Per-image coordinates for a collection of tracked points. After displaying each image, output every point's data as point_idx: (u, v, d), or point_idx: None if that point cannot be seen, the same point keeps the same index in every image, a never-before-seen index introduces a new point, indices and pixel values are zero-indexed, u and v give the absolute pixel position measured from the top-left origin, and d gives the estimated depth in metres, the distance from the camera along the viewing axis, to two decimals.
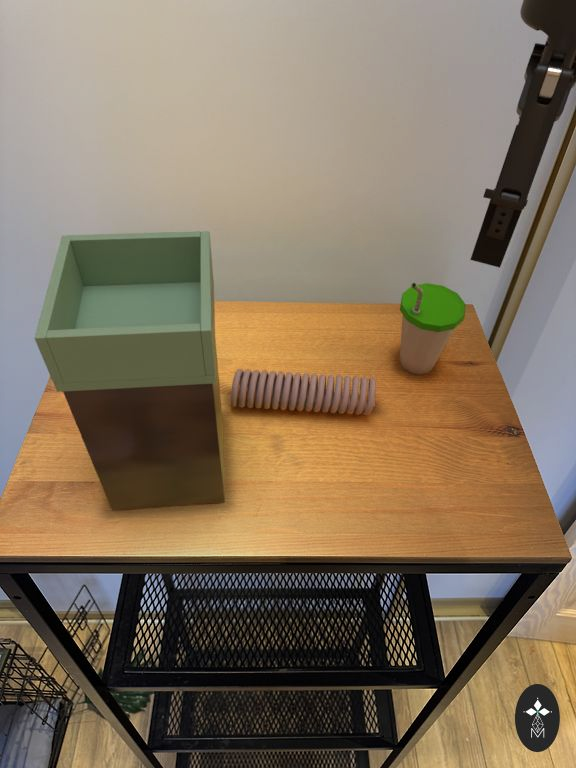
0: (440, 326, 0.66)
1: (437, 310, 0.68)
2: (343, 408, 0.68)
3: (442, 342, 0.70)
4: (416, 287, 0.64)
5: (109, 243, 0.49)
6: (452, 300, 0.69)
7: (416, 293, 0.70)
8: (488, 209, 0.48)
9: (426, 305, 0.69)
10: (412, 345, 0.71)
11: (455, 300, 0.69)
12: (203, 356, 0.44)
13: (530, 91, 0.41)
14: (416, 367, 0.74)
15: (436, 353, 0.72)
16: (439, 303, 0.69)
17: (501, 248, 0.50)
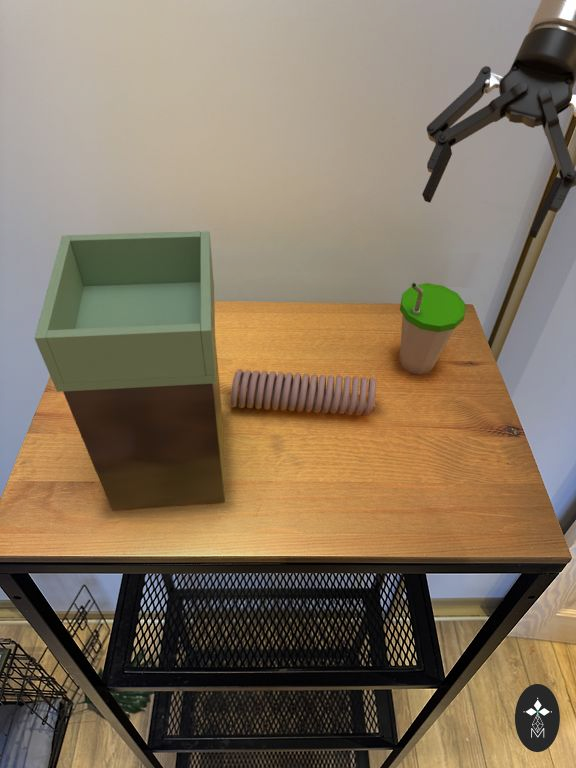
0: (440, 326, 0.66)
1: (437, 310, 0.68)
2: (343, 408, 0.68)
3: (442, 342, 0.70)
4: (416, 287, 0.64)
5: (109, 243, 0.49)
6: (452, 300, 0.69)
7: (416, 293, 0.70)
8: None
9: (426, 305, 0.69)
10: (412, 345, 0.71)
11: (455, 300, 0.69)
12: (203, 356, 0.44)
13: None
14: (416, 367, 0.74)
15: (436, 353, 0.72)
16: (439, 303, 0.69)
17: None
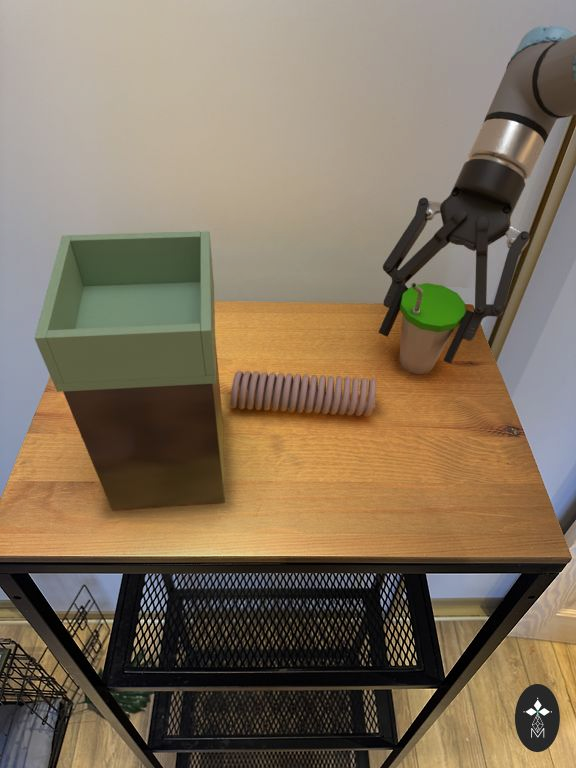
0: (440, 326, 0.66)
1: (437, 310, 0.68)
2: (343, 409, 0.68)
3: (442, 342, 0.70)
4: (416, 287, 0.64)
5: (109, 243, 0.49)
6: (452, 300, 0.69)
7: (416, 293, 0.70)
8: None
9: (426, 305, 0.69)
10: (412, 345, 0.71)
11: (455, 300, 0.69)
12: (203, 356, 0.44)
13: None
14: (416, 367, 0.74)
15: (436, 353, 0.72)
16: (439, 303, 0.69)
17: None
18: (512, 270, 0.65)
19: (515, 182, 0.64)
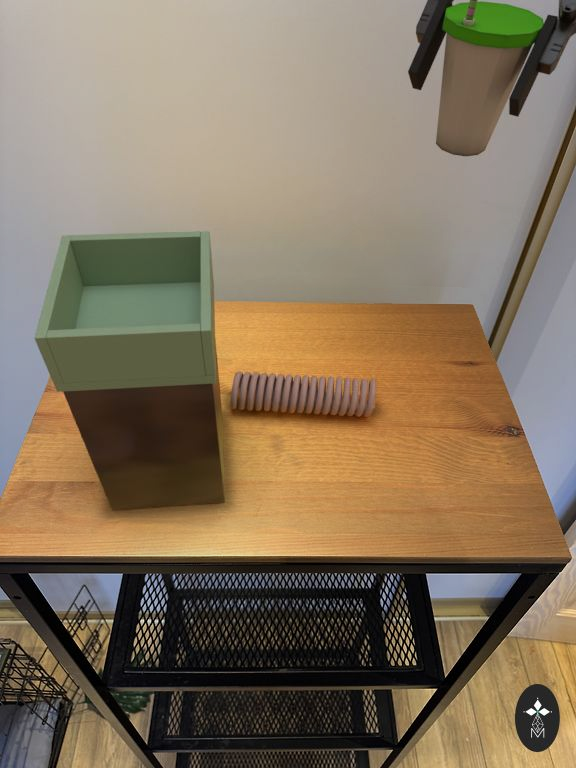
0: (508, 36, 0.43)
1: (500, 23, 0.44)
2: (343, 410, 0.68)
3: (506, 82, 0.46)
4: None
5: (109, 243, 0.49)
6: (522, 16, 0.46)
7: (466, 10, 0.46)
8: None
9: (482, 19, 0.45)
10: (459, 93, 0.47)
11: (526, 16, 0.46)
12: (203, 356, 0.44)
13: None
14: (462, 140, 0.50)
15: (494, 108, 0.48)
16: (502, 18, 0.45)
17: None
18: None
19: None
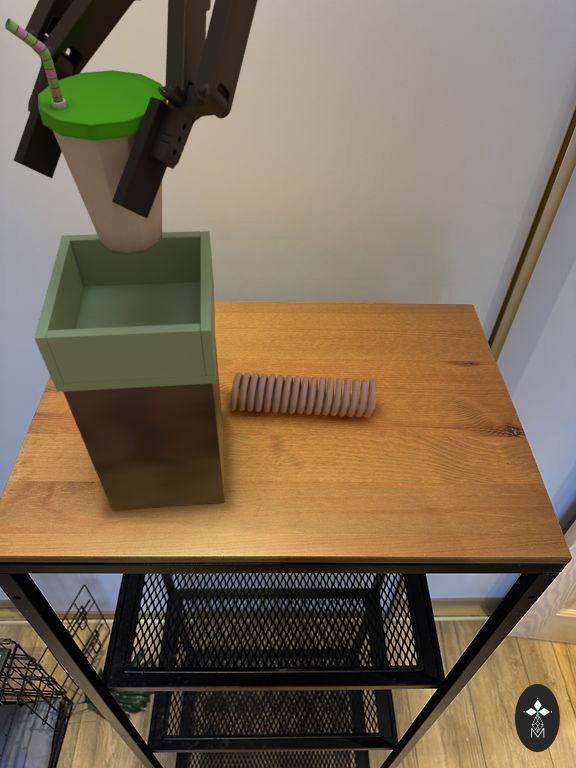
0: (91, 125, 0.33)
1: (104, 105, 0.35)
2: (343, 411, 0.67)
3: None
4: (15, 29, 0.31)
5: None
6: (145, 93, 0.36)
7: (82, 83, 0.37)
8: None
9: (87, 98, 0.35)
10: (82, 186, 0.38)
11: (151, 93, 0.36)
12: (203, 356, 0.44)
13: None
14: (113, 237, 0.40)
15: None
16: (117, 96, 0.36)
17: None
18: (229, 6, 0.32)
19: None
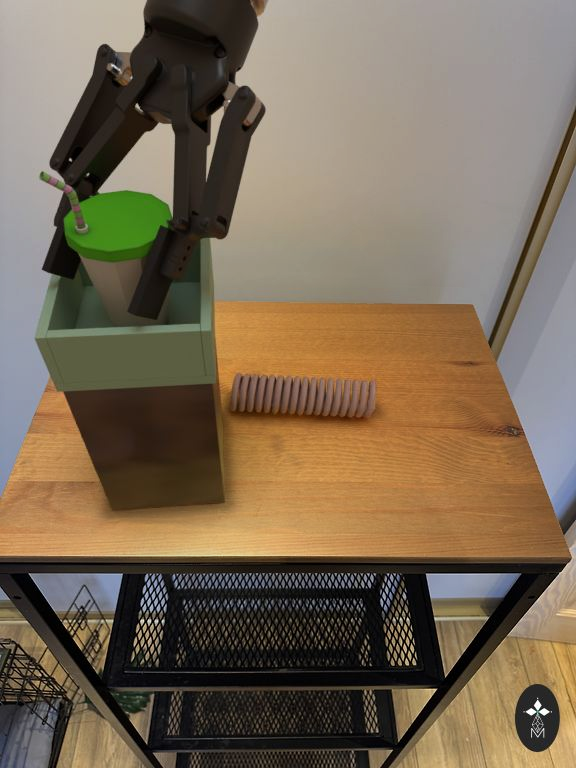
0: (110, 252, 0.39)
1: (120, 228, 0.41)
2: (343, 411, 0.67)
3: None
4: (47, 179, 0.37)
5: None
6: (155, 214, 0.42)
7: (100, 204, 0.43)
8: None
9: (105, 221, 0.41)
10: (100, 290, 0.44)
11: (160, 214, 0.42)
12: (203, 356, 0.44)
13: None
14: None
15: None
16: (130, 218, 0.42)
17: None
18: (226, 154, 0.38)
19: None
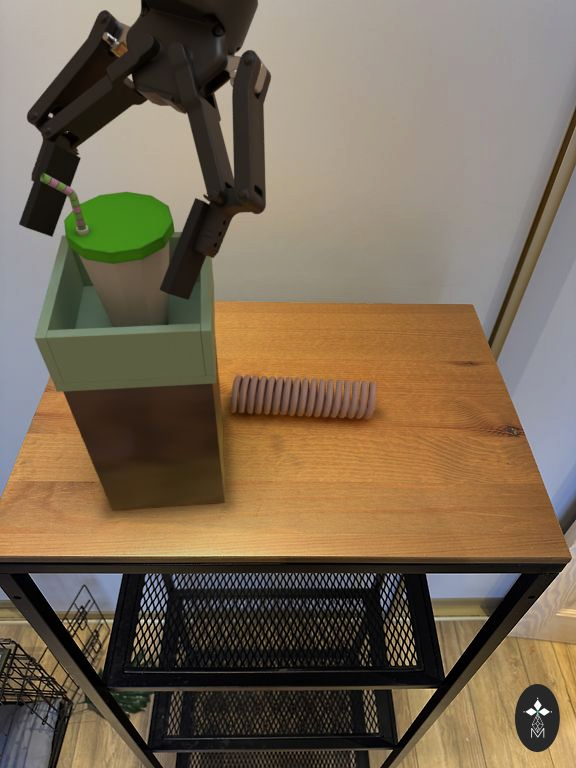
0: (111, 253, 0.39)
1: (121, 230, 0.41)
2: (344, 412, 0.67)
3: (141, 285, 0.43)
4: (48, 181, 0.37)
5: None
6: (155, 216, 0.42)
7: (101, 206, 0.43)
8: None
9: (106, 222, 0.42)
10: (100, 291, 0.44)
11: (160, 216, 0.42)
12: (203, 356, 0.44)
13: None
14: None
15: (144, 305, 0.45)
16: (131, 219, 0.42)
17: None
18: (247, 121, 0.37)
19: None
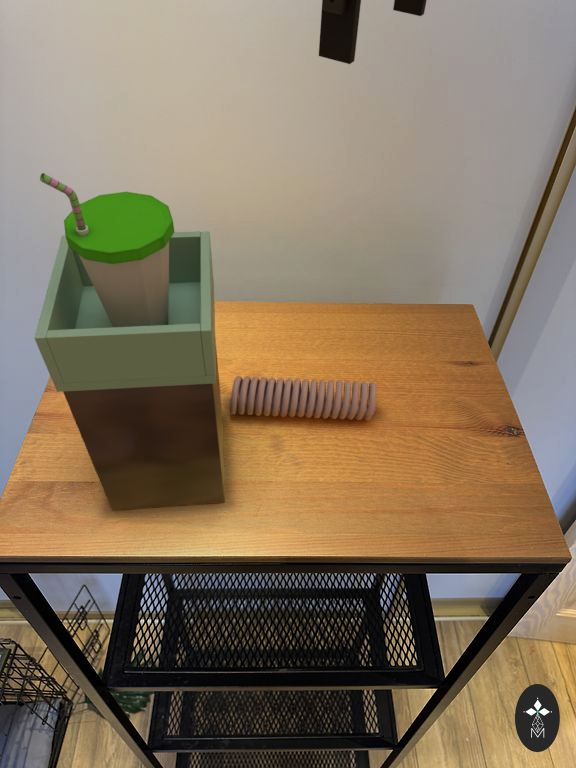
0: (111, 253, 0.39)
1: (121, 230, 0.41)
2: (344, 414, 0.67)
3: (141, 285, 0.43)
4: (48, 181, 0.37)
5: None
6: (155, 216, 0.42)
7: (101, 206, 0.43)
8: None
9: (106, 223, 0.42)
10: (100, 291, 0.44)
11: (160, 216, 0.42)
12: (203, 356, 0.44)
13: None
14: None
15: (144, 305, 0.45)
16: (131, 219, 0.42)
17: (347, 34, 0.42)
18: None
19: None
